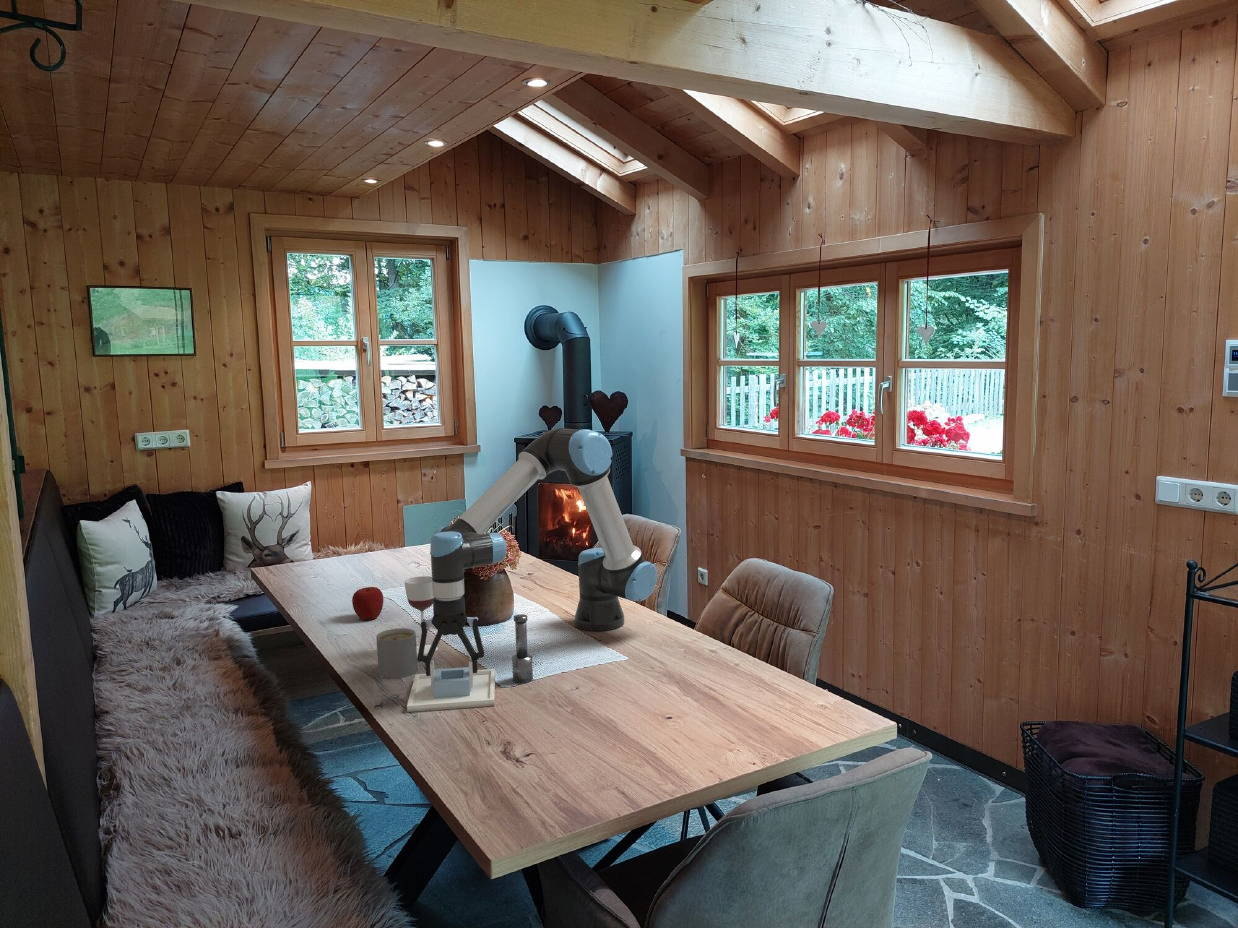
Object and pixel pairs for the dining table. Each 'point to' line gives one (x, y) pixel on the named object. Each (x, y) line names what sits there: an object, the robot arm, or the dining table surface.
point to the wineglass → (420, 597)
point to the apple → (368, 602)
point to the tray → (478, 697)
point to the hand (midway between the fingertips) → (452, 686)
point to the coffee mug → (397, 653)
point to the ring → (451, 682)
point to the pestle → (521, 652)
